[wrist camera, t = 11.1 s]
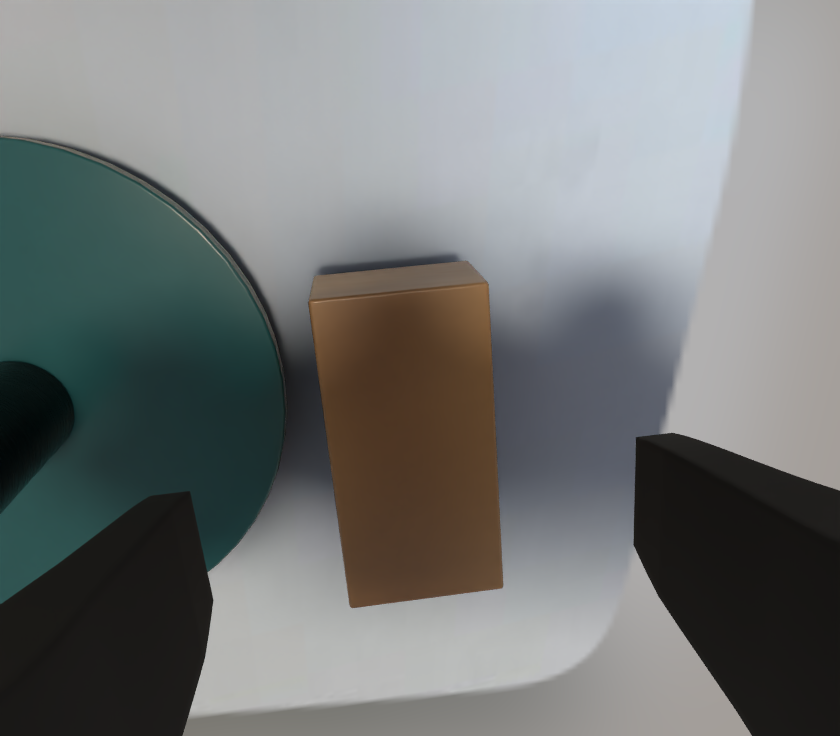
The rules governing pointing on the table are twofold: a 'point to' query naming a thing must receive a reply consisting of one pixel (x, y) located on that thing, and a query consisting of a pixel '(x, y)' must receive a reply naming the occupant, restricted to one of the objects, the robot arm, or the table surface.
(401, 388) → the tall bronze cuboid
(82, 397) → the pot lid
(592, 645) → the table surface
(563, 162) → the table surface
